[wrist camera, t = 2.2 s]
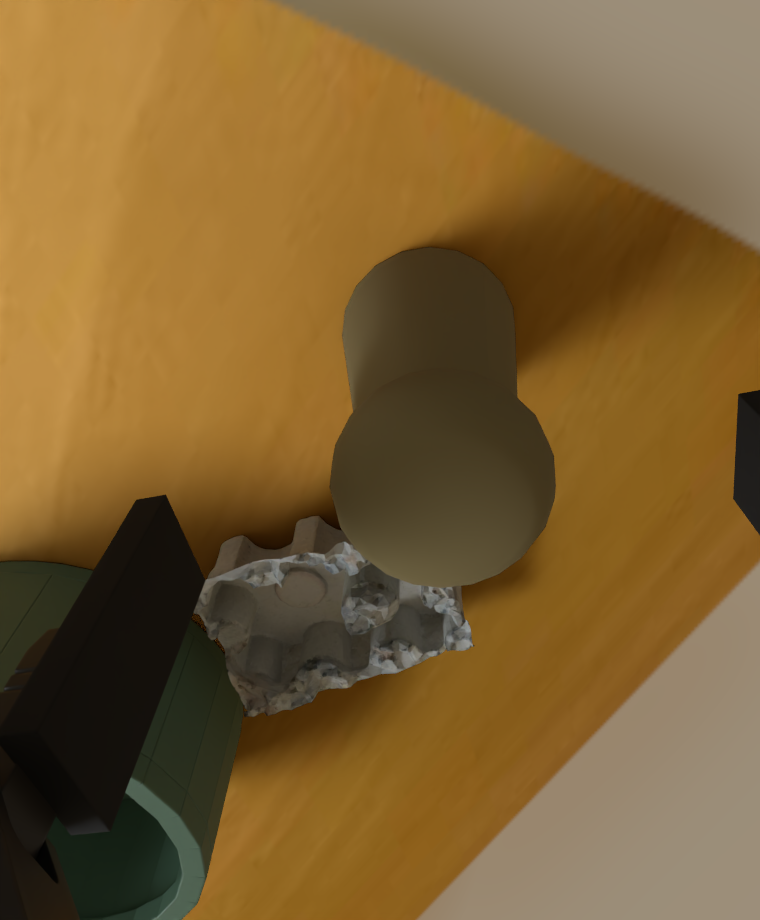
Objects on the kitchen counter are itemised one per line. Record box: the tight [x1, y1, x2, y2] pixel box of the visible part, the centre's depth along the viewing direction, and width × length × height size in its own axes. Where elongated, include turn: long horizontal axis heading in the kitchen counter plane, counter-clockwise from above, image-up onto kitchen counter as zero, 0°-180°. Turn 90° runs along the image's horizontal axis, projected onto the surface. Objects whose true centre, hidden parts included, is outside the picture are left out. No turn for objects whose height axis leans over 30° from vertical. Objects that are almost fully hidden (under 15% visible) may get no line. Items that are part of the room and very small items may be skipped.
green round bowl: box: [0, 561, 243, 920], centre depth 31 cm, size 17×17×8 cm
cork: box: [330, 247, 556, 588], centre depth 19 cm, size 6×6×11 cm
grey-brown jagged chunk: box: [194, 516, 474, 717], centre depth 28 cm, size 11×8×4 cm
